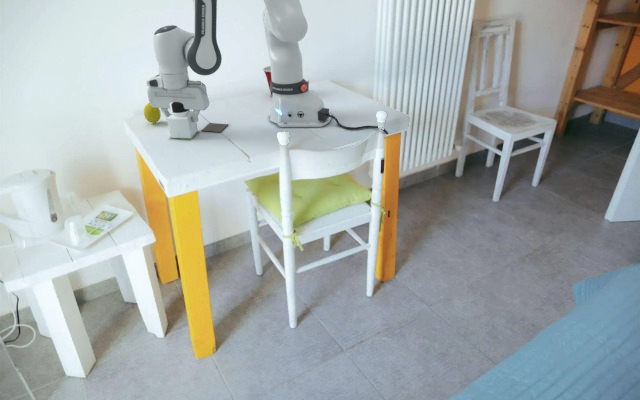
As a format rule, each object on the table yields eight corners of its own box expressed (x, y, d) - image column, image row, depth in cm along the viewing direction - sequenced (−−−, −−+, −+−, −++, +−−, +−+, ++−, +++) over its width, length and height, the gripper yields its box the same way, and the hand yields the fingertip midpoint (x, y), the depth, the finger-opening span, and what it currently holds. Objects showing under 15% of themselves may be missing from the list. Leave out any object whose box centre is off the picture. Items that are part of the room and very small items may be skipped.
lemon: (165, 123, 168) (160, 102, 164) (151, 127, 165) (146, 106, 161) (157, 119, 171) (153, 98, 167) (143, 124, 168) (138, 102, 164)
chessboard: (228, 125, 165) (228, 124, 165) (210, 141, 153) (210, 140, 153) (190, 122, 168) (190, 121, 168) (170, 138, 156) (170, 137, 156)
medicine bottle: (198, 130, 161) (192, 96, 154) (191, 138, 155) (185, 104, 148) (178, 130, 161) (172, 96, 155) (170, 138, 155) (163, 103, 149)
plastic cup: (279, 89, 199) (277, 61, 193) (296, 95, 193) (294, 66, 186) (259, 96, 192) (256, 67, 186) (276, 101, 186) (274, 71, 180)
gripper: (209, 78, 149) (215, 119, 156) (152, 75, 153) (160, 115, 160) (200, 84, 144) (207, 126, 151) (141, 81, 148) (150, 122, 155)
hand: (182, 120), depth 155 cm, fingers open, 8 cm apart
